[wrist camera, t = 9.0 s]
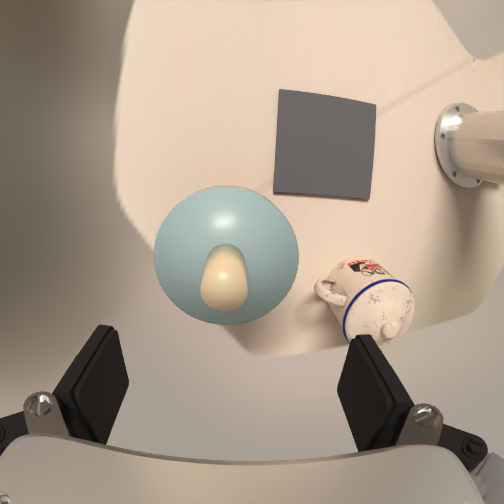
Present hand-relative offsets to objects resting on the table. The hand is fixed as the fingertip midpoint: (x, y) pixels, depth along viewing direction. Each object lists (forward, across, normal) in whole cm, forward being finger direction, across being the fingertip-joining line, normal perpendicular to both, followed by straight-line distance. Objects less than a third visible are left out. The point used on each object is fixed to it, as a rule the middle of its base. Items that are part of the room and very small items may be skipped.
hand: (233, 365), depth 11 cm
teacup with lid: (+26, -14, +8) cm, 30 cm away
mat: (+25, -10, -10) cm, 29 cm away
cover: (+13, +1, 0) cm, 13 cm away
